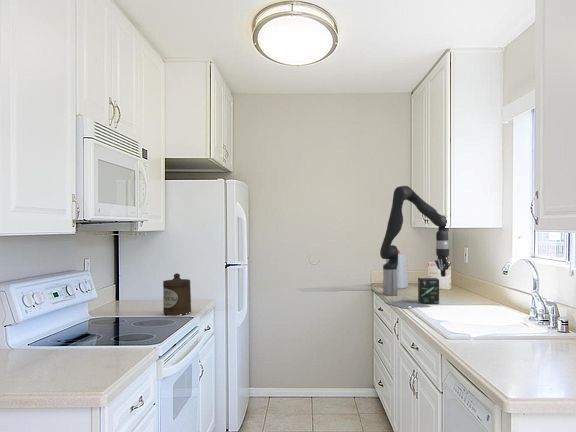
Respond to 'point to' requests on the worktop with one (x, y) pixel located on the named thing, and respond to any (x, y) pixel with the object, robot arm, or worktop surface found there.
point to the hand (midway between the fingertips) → (443, 276)
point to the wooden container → (176, 296)
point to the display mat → (406, 304)
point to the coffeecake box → (436, 273)
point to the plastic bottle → (401, 271)
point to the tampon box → (428, 290)
